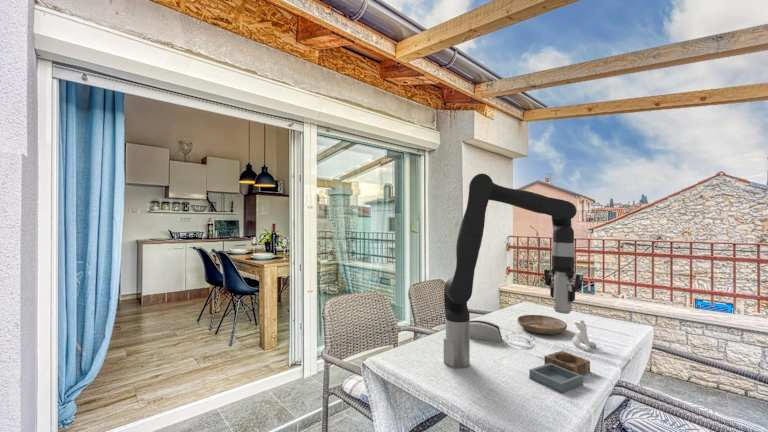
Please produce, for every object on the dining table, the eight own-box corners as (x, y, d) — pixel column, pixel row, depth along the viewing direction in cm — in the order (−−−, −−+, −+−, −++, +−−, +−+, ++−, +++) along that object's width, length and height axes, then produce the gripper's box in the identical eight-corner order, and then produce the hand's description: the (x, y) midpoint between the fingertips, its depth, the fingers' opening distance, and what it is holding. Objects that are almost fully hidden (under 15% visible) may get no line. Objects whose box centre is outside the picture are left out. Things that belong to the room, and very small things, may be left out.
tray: (561, 393, 108) (561, 384, 108) (529, 378, 118) (529, 369, 118) (582, 384, 114) (582, 375, 114) (550, 370, 124) (550, 362, 124)
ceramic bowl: (507, 327, 177) (507, 317, 177) (538, 321, 187) (538, 312, 187) (544, 341, 156) (544, 330, 156) (577, 334, 166) (577, 324, 166)
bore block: (572, 378, 118) (572, 367, 118) (543, 366, 128) (543, 355, 128) (591, 371, 124) (591, 361, 124) (561, 360, 134) (561, 350, 134)
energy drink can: (555, 308, 128) (555, 270, 129) (572, 311, 125) (573, 271, 125) (551, 312, 124) (552, 271, 124) (569, 315, 120) (570, 273, 120)
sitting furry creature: (589, 352, 142) (589, 324, 142) (568, 347, 149) (568, 320, 149) (597, 347, 148) (597, 320, 148) (576, 342, 155) (576, 316, 155)
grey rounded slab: (503, 339, 158) (501, 321, 155) (500, 345, 154) (499, 327, 151) (468, 333, 167) (466, 315, 164) (465, 338, 163) (463, 321, 160)
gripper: (539, 253, 129) (538, 296, 128) (576, 257, 116) (575, 305, 116) (551, 252, 132) (550, 294, 132) (588, 256, 120) (587, 303, 120)
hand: (562, 299), depth 124 cm, fingers closed on energy drink can, 6 cm apart
